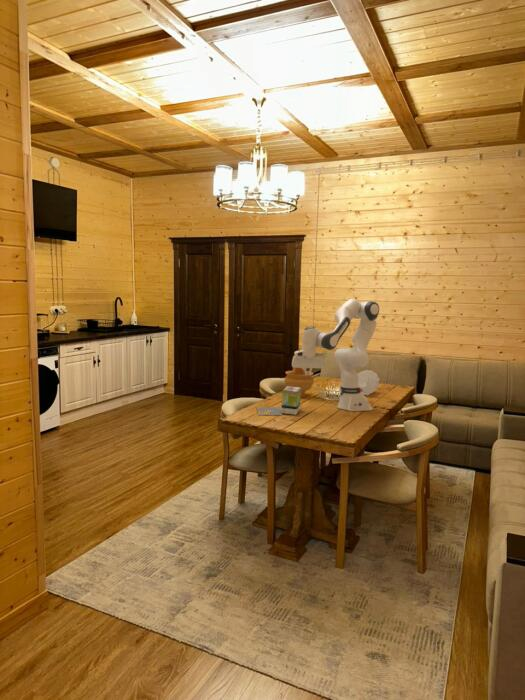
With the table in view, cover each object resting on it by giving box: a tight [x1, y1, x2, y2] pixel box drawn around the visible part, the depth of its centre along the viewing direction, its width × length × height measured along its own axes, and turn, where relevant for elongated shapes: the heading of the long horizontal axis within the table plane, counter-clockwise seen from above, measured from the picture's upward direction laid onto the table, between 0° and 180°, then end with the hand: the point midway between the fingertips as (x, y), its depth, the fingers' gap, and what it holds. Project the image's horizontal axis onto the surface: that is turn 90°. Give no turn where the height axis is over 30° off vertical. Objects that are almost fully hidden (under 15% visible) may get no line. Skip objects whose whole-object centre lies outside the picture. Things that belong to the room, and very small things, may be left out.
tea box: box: [280, 385, 302, 416], centre depth 300 cm, size 15×10×15 cm, turn 168°
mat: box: [255, 406, 284, 416], centre depth 299 cm, size 15×20×1 cm
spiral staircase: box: [357, 369, 381, 396], centre depth 362 cm, size 18×18×25 cm
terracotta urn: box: [284, 367, 315, 398], centre depth 346 cm, size 21×21×30 cm
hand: (307, 375), depth 298 cm, fingers closed
